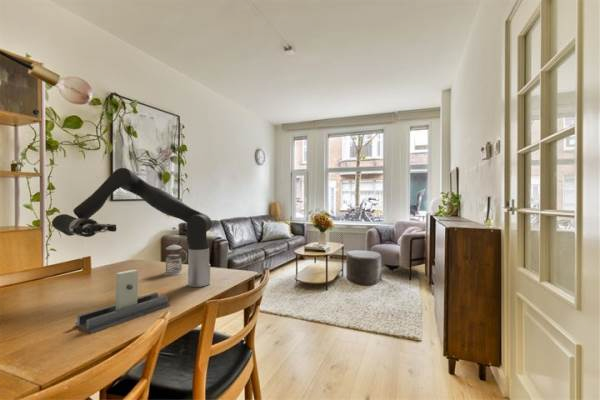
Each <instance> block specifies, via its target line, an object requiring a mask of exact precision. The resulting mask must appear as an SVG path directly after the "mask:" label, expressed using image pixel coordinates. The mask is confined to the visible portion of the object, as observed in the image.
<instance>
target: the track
mask: <svg viewBox="0 0 600 400" xmlns="http://www.w3.org/2000/svg"><path fill="white" fill-rule="evenodd" d="M168 300H169V295H161V296H159V292H152V293H149V294H146V295H143V296H142V295H141V296H139V297H138V300H137V304H136V305H132V306H129V307H126V308H123V309H120V310H116V303H115V304H112V305H111V304H110V305H109V306H106V307H101V308H98V309H95V310H92V311H87V312H85V313H82V314H78V315H77V318H76V319H77V321H76V322H75V327H76V328H78V329H81V330H83V331H85V332H87V333H89V334H94V333H96V332H100V331H103V330H105V329H108V328H111V327H113V326H116V325H119V324H123V323H125V322H128V321H130V320H134V319H136V318H139V317H142V316H145V315H148V314H150V313H153V312H156V311H159V310H162V309H165V308H167V307H170V305H171V304H170V302H169V301H168Z"/></svg>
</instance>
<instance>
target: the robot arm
mask: <svg viewBox="0 0 600 400" xmlns="http://www.w3.org/2000/svg"><path fill="white" fill-rule="evenodd" d="M119 189H123V190H125V191H127V192H129V193H132V194H133V195H136V196H138V197H139V198H141V199H143V201H145V202H146V203H147V204H148V205H150V206H151V207H152V208H154V209H156V210H157V211H159V212H160V213H162V214H164V215H167V216H170V217H173V218H175V219H177V220H181V221H182V222H184V223H186V243H187V245H188V254H187V259H188V261H187V263H188V268H187V271H188V273H187V274H188V275H187V286H188V287H190V288H201V287H206V286H208V285H211V263H210V242H209V240H208V239H207V232H208V231H209V232H210V230H211V228H212V227H213V222H212V219H211V218H210V217H209V216H208V214H207V215H206V214H205V213H203V212H200V211H199V210H196V209H194V208H192V207H190V206H189V205H187V204H185V203H184V202H183V201H181V200H180V199H178V198H177V197H175V196H174V195H172V194H170V193H168V192H167V191H165V190H164V189H161V188H159V187H155V186H153V185H151V184H150V183H147V182H146V181H144V180H143V179H142V178H141V177H139V176H138V175H137V174H136V173H135V172H133V171H132V170H130V169H129V168H126V167H119V168H117V169H115V171H113V172H112V173H111V174H110V175H109V176H108V178H106V180H105V181H103V183H102V184H101V185H100V186H99V187H98V188H97V189H96V190H95V191H94V192H93V193H92V194H91V195H90V196H88V197H87V198H86V199H85V200H83V201H82V202H81V203H79V204H78V205H76V207H74V208H73V214H74V215H75V216H76V217H77V218H76V217H74V216H72V215H69V214H66V213H63V214H59V215H57V216H55V217H54V218H53V219H52V221H51V226H52V227H53V228H54V229H55V230H57V231H59V232H61V233H63V234H64V235H66V236H68V237H69V236H70V237H72V236H79V237H84V238H90V237H94V236H95V235H96V234H99V233H107V232H114V233H115V232H116V231H117V224H113V223H112V224H110V223H98V222H97V220H95V219H94V218H93V219H92V218H91V217H92V216H94V215H95V214H96V213H97V212H99V210H101V209H102V208H103V207H104V205H105V203H106V202H107V200H108V198H109V197H110V196H111V195H112V194H113V193H114V192H115V191H117V190H119Z"/></svg>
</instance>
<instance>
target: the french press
mask: <svg viewBox="0 0 600 400" xmlns="http://www.w3.org/2000/svg"><path fill="white" fill-rule="evenodd" d="M172 230H177V228H176V227H175V226H173V227H172ZM182 248H183V247H182V246H180V245H178V244H171V245H169V246H167V247H165V250H168V251H175V250H176V251H177V250H180V253H183V252H184V253H185V255H186V257H185V260H184V261H182V257H181V255H182V254H180V253H172V254H171V253H170V254H167V255H166V258H165V272H163V275H164V276H178V275H181V274H183V273H184V271H183V270H182V269H183V267H182V265H183V264H185V262H186V261H187V259H188V253H187V251H185V250H184V249H182Z"/></svg>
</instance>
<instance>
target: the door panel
mask: <svg viewBox="0 0 600 400" xmlns="http://www.w3.org/2000/svg"><path fill="white" fill-rule="evenodd" d="M138 277H139V271H138V270H137V269H131V270H129V269H128V270H124V271H120V272H115V304H116V310H120V309H123V308H126V307H129V306H132V305H136V304H137V300H138V298H139V297H138V294H139V293H138V292H139V291H138V290H139V287H138V286H139V285H138V283H139V278H138Z"/></svg>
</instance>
